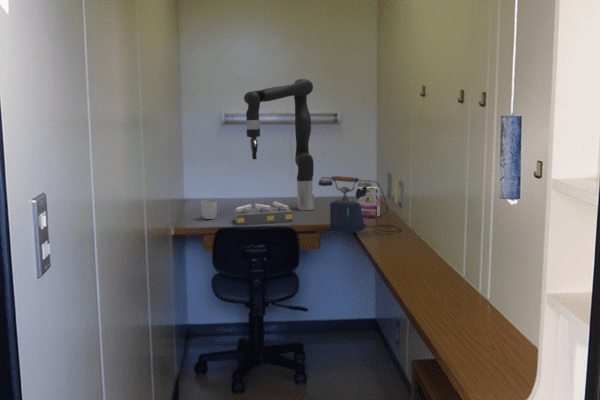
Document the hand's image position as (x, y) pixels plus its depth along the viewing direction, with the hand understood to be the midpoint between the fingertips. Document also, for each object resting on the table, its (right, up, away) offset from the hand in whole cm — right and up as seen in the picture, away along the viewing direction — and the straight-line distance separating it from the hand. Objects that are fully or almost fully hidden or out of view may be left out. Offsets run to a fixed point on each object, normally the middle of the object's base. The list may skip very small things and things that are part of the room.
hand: (254, 159), depth 357 cm
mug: (-26, -33, 0) cm, 42 cm away
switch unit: (+5, -34, -10) cm, 36 cm away
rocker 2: (+15, -27, -9) cm, 32 cm away
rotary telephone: (+56, -38, -36) cm, 77 cm away
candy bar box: (+64, -32, -6) cm, 72 cm away
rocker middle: (+5, -27, -11) cm, 30 cm away
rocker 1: (-4, -28, -14) cm, 31 cm away
